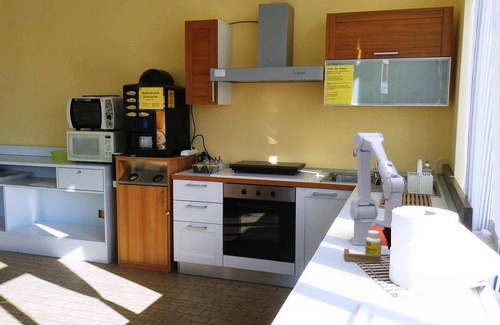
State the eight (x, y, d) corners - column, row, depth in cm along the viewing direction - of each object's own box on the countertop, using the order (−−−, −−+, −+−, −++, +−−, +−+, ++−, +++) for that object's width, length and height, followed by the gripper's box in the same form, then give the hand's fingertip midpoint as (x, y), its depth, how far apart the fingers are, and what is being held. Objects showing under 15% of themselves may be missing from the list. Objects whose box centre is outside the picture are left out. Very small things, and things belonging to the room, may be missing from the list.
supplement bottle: (362, 258, 172) (363, 231, 171) (368, 255, 177) (370, 228, 176) (376, 261, 169) (378, 234, 168) (383, 258, 173) (384, 231, 172)
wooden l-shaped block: (344, 255, 176) (344, 248, 176) (378, 257, 174) (378, 250, 174) (345, 261, 169) (345, 254, 169) (380, 263, 167) (380, 256, 167)
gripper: (418, 213, 166) (416, 251, 168) (381, 206, 177) (379, 243, 179) (407, 216, 162) (405, 255, 163) (370, 209, 172) (368, 246, 174)
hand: (391, 249), depth 171 cm, fingers closed
